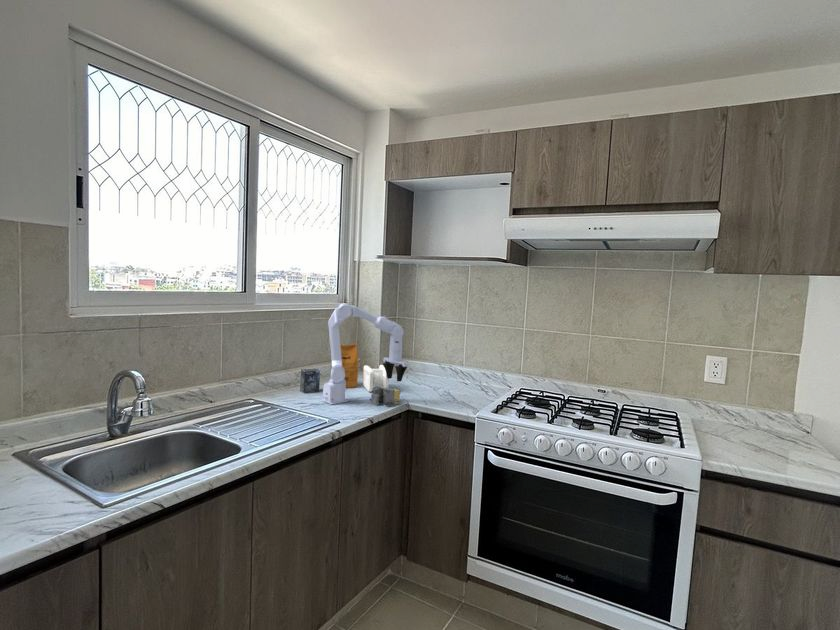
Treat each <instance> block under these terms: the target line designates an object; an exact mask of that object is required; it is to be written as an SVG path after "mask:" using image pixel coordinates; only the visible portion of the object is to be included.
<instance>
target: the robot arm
mask: <svg viewBox="0 0 840 630" xmlns="http://www.w3.org/2000/svg"><path fill="white" fill-rule="evenodd" d="M351 316H352V317H354V318H356V317H360V318H361V319H364V320H365V321H368V322H370V323H372V324H374V327H375V328H376V329H378V330H380V331H382V332H384V333H386V334H390V336H389V337H390V339H389V351H388V353H389V355H388V356H387V357H383V363H382V365H383V366H384V368H385V370H386V374H387V378H388V379H392V378H393V371H394V368H395V370H396V381H397V382H402V381H403V379H404V378H403V377H404V375H405V372H406V370H407V369H408V361H405V360H404V359H402V356H403V335H405V331H404V328H403V326H402V325H400V324H399V323H396V321H394V320H390V319H388V318H387V316H385V315H384V316H382V315H380V316H375V315H374V314H371V313H370V312H367V311H365V310H364V309H362V308H360V307H358V306H355V305H351V304H348V303H347V302H343V303H340V304H339V305H338V306H337V307H336V308H335V309H334V311H333V312H332V313H331V316H330V318H329V319H328V321H327V323H328V324H327V325H328V332H329V333H328V335H329V345H330V346H329V347H330V357H331V370H330V379H329V380H328V382H325V383H324V384H323V388H322V399H321V401H323V402H324V403H327V404H330V405H335V404H341V403H346V402H347V403H348V402H349V401H350V400H349V399H347V398H346V388H345V387H346V380H345V370H344V368H343V366H342V358H341V347H340V344H341V337H340V336H341V335H340V325H341V324H342V323H343V321H345V320H346V319H349V317H351Z"/></svg>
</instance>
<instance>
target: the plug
mask: <svg viewBox="0 0 840 630" xmlns="http://www.w3.org/2000/svg"><path fill="white" fill-rule="evenodd" d="M393 390H395V393H394V403H397V402H396V401H398V402H400V397H401V390H399V389H396V388H393ZM370 395H371V396H370V398H371V401H370V404H371V405H372V406H375V405H376V406H379V405H382V403H383V400H379V395H378V394H373V393H372V394H370Z"/></svg>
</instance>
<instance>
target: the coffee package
mask: <svg viewBox="0 0 840 630" xmlns="http://www.w3.org/2000/svg"><path fill="white" fill-rule="evenodd" d="M340 347H341V358H342V366H343V368H344V370H345V380H346V387H345V389H351V388H356V387H358V376H359V373H358V372H359V355H358V347H357V343H350V344H341V343H340Z"/></svg>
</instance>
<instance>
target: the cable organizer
mask: <svg viewBox="0 0 840 630" xmlns="http://www.w3.org/2000/svg"><path fill="white" fill-rule="evenodd" d="M378 367H379V368H371V366H369V365H364V366H363V371H362V372H363V375H362V376H363V377H362V385H363V387H364V388H365V390H367V392H368V393H371V392H373V389H376V388H378V387H379V386H383V387H387V388H389V381H390V380H389V379H390V378H389V379H388V378H387V374H386V370H385V368H384V366H383V364H380V365H379V366H378ZM384 392H386V391H385V390H384Z"/></svg>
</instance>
